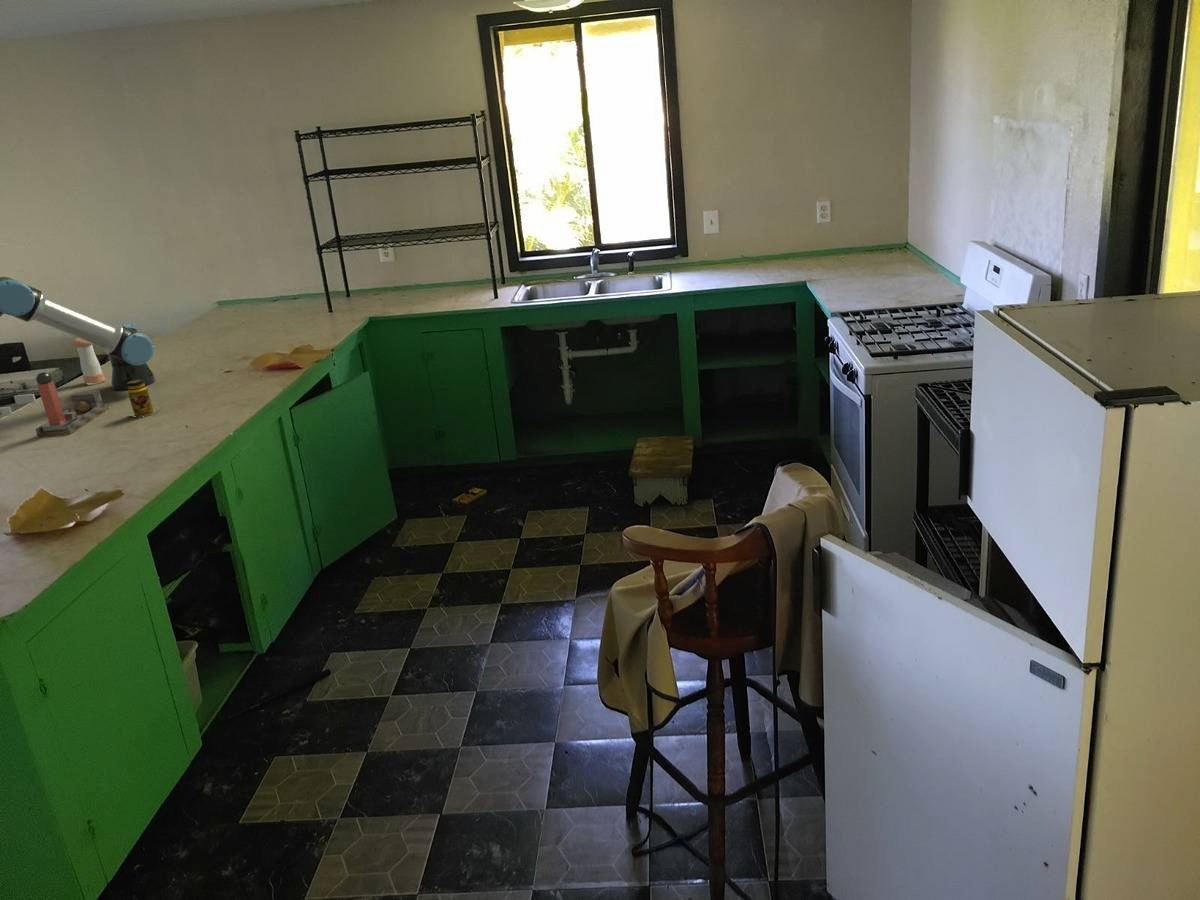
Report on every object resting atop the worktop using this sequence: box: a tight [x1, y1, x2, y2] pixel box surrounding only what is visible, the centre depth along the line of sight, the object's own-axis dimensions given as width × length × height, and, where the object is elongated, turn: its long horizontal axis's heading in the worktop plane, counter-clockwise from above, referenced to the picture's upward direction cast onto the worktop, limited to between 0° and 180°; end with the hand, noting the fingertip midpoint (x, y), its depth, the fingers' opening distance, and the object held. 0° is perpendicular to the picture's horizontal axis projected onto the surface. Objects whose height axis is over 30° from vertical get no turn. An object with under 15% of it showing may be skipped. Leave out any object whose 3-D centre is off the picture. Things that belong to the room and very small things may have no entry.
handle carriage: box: [35, 372, 77, 432], centre depth 310 cm, size 9×8×19 cm
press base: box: [35, 389, 110, 438], centre depth 319 cm, size 26×11×7 cm, turn 0°
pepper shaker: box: [72, 337, 106, 384], centre depth 367 cm, size 7×7×19 cm
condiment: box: [127, 379, 160, 417], centre depth 321 cm, size 7×8×12 cm
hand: (23, 404), depth 309 cm, fingers open, 13 cm apart
